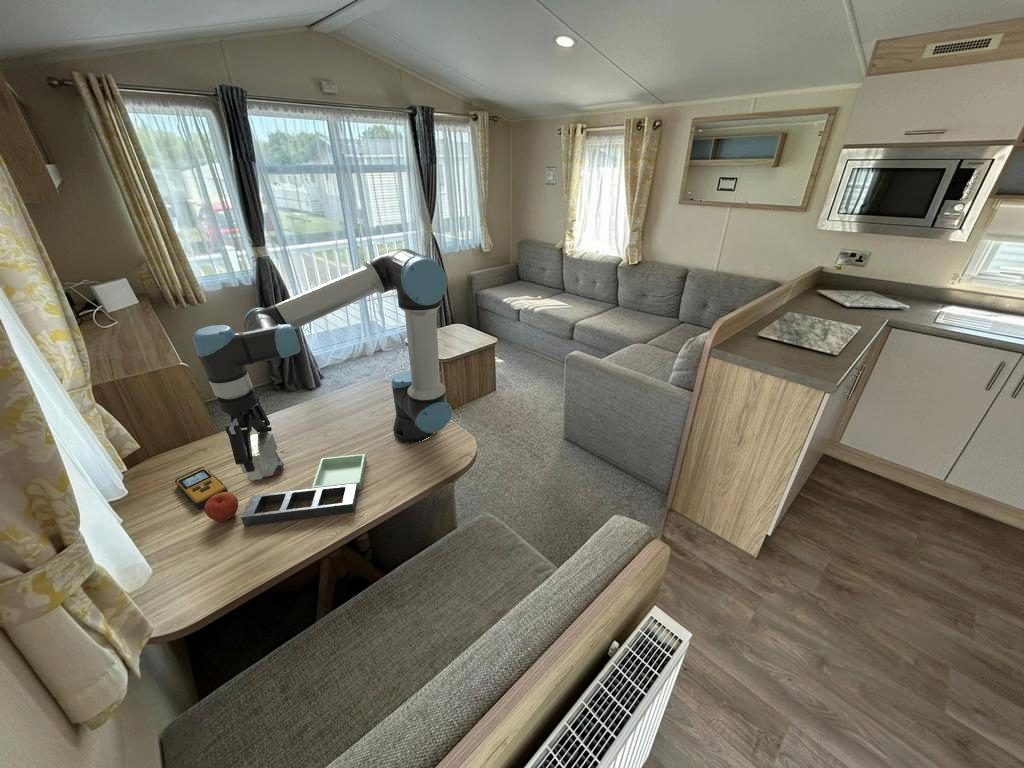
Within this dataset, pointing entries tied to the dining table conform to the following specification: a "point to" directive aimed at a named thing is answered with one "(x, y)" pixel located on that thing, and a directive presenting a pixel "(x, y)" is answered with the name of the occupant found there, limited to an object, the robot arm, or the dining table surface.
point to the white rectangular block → (264, 453)
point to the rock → (278, 466)
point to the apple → (221, 506)
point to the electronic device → (200, 486)
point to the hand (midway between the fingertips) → (263, 465)
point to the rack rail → (287, 513)
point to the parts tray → (340, 471)
